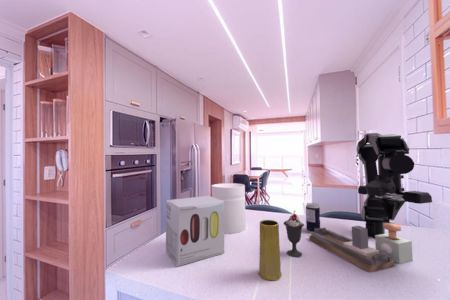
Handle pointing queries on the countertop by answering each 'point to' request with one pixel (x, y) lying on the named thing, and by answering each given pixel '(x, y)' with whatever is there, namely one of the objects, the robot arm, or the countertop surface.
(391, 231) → the button
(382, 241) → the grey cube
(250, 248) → the countertop surface
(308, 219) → the beverage can
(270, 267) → the vase
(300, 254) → the sundae
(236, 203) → the canister
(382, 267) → the rail
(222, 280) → the countertop surface
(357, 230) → the carriage
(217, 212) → the supplement box
